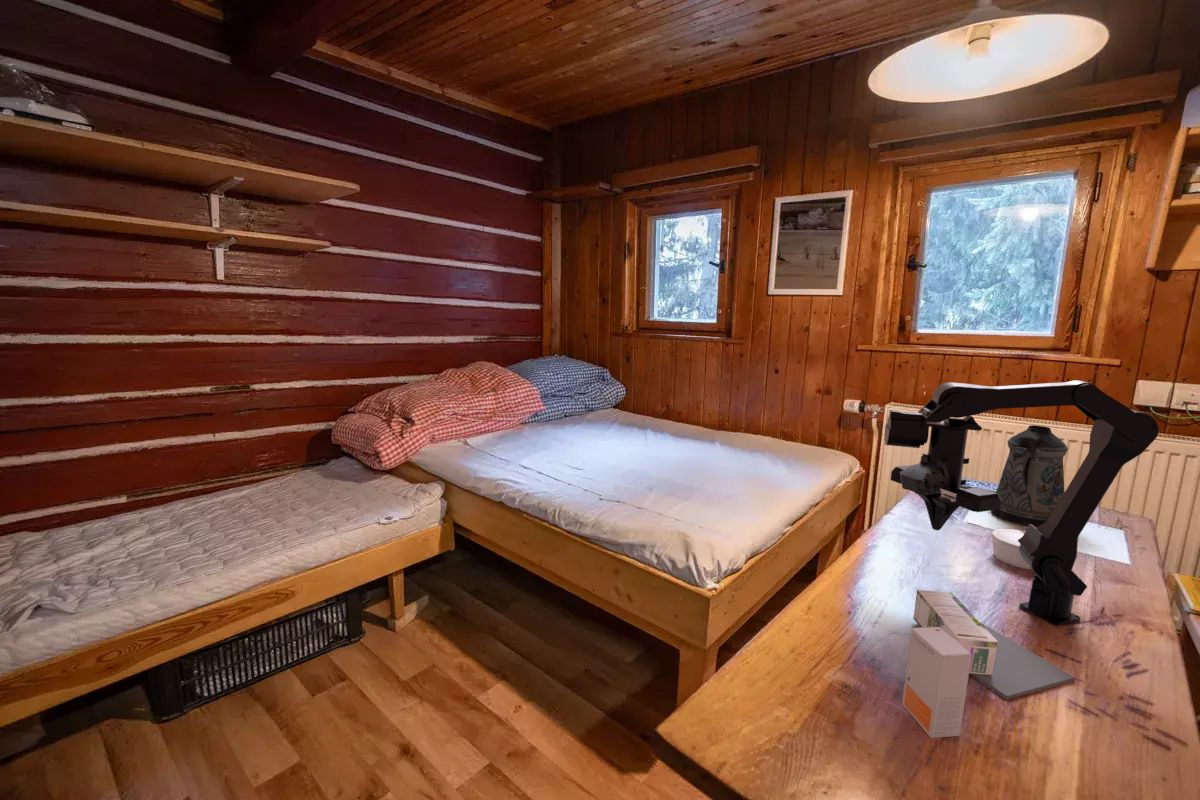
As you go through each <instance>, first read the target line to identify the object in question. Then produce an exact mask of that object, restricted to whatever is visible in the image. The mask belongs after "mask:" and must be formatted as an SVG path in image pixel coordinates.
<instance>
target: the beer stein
mask: <svg viewBox="0 0 1200 800" xmlns="http://www.w3.org/2000/svg"><path fill="white" fill-rule="evenodd" d="M1007 447H1008V449H1009V453H1008V455H1007V459H1006V461H1005V464H1004V467H1003V470H1002V474H1001V476H1000V480H999V483H998V485H997V488H996V490H995V491H994V493H997V494H998V495H999V496H1000V498H1001V506H1000V509H999V510H991V513H992V514H993V515H994V516H996V517H997V518H999V519H1002V520H1004V521H1007V522H1009V523H1013V524H1015V525H1016V524H1017V525H1018V526H1019V525H1020V526H1023V527H1027V526H1028V525H1029V524H1032V525H1033V526H1035V527H1039V526H1040V525H1042V524H1044V523H1045V522H1046V521H1047V520H1048V519H1049V518H1050V516H1051V514H1052V513H1053V511H1054V509H1055V508H1056V506H1057V504H1058V503H1059V501H1060V499H1061V498H1062V496H1063V494H1064V493H1065V491H1066V490H1065V475H1064V473H1065V472H1064V457H1065V456H1066V455H1067V452H1068V451H1069V447H1068V446H1067V445H1066V443H1065V442H1064V441H1062V440H1061V438H1059V437H1058V436H1056V435H1055V434H1054V433H1053V432H1052V430H1051V428H1050V427H1049V426H1042V425H1034V424H1033V425H1029V426H1028V427H1027V429H1025V430H1023V431H1021V432H1019V433H1017V434H1015V435H1013V436H1012V437H1010V438H1009V439H1008V440H1007Z"/></svg>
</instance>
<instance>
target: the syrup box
mask: <svg viewBox="0 0 1200 800" xmlns="http://www.w3.org/2000/svg"><path fill="white" fill-rule="evenodd" d="M913 612H914V613H913V620H914V621H915V622H916V624H917V625H918V626H919V627H918V628H923V627H940V628H941V629H942V630H943V631H945V632H946V633H947V634H948V635H949V636H951V637H952V638H954V639H955V640H956V641H958V642H959V644H960V645H961V646H962V647H964V648H965V649H966V650H967V651H968V652H970V653H971V654H972V658H971V664H970V670H969V673H973V674H984V675H992V671H993V666H994V660H995V654H996V648H997V643H998V641H997V640H996V639H995V638H994V637H993V636H992V635H991V634H990V633H989V632H988V630H987V629H986V628H985V627H984V626H983V625H982V624H983V623H982V622H981V621H979V620H978V619H977V618H976V617H975V616H974V615H973V614H972V613H971V611H969V609H967V607H966V606H965V605H964V604H963V603H962V602H961V601H960V600H959V599H958V597H956V596H955V594H954V593H953V592H952V591H951V592H950V591H941V590H940V591H939V590H926V589H925V590H924V589H917V590H916V596H915V604H914V611H913ZM980 622H981V623H982V624H981V623H980Z"/></svg>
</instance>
